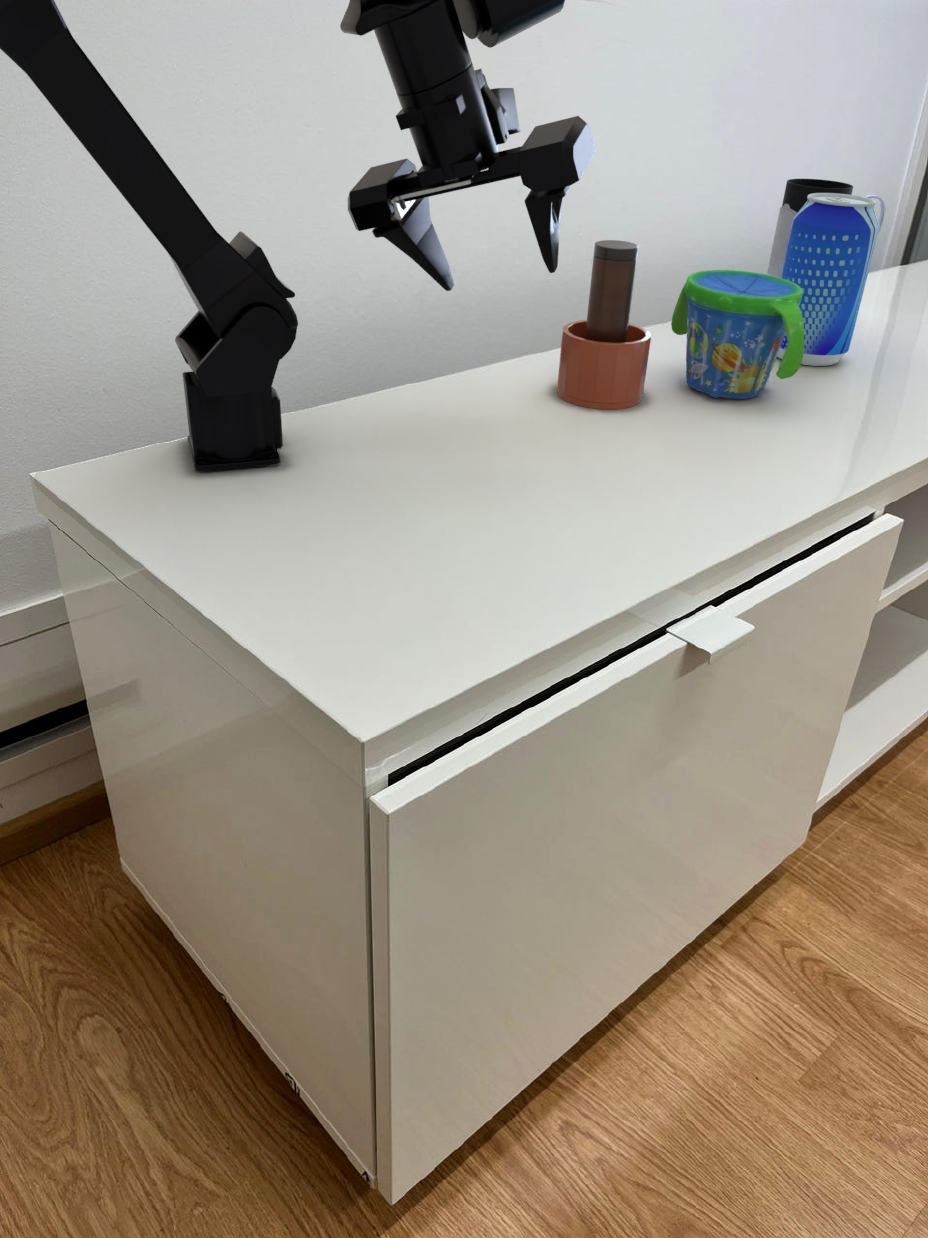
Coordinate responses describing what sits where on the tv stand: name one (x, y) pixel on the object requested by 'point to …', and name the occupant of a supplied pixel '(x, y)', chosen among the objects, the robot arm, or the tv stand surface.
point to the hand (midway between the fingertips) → (500, 279)
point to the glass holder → (792, 205)
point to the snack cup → (738, 330)
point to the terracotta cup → (602, 368)
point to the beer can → (830, 270)
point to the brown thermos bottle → (611, 291)
